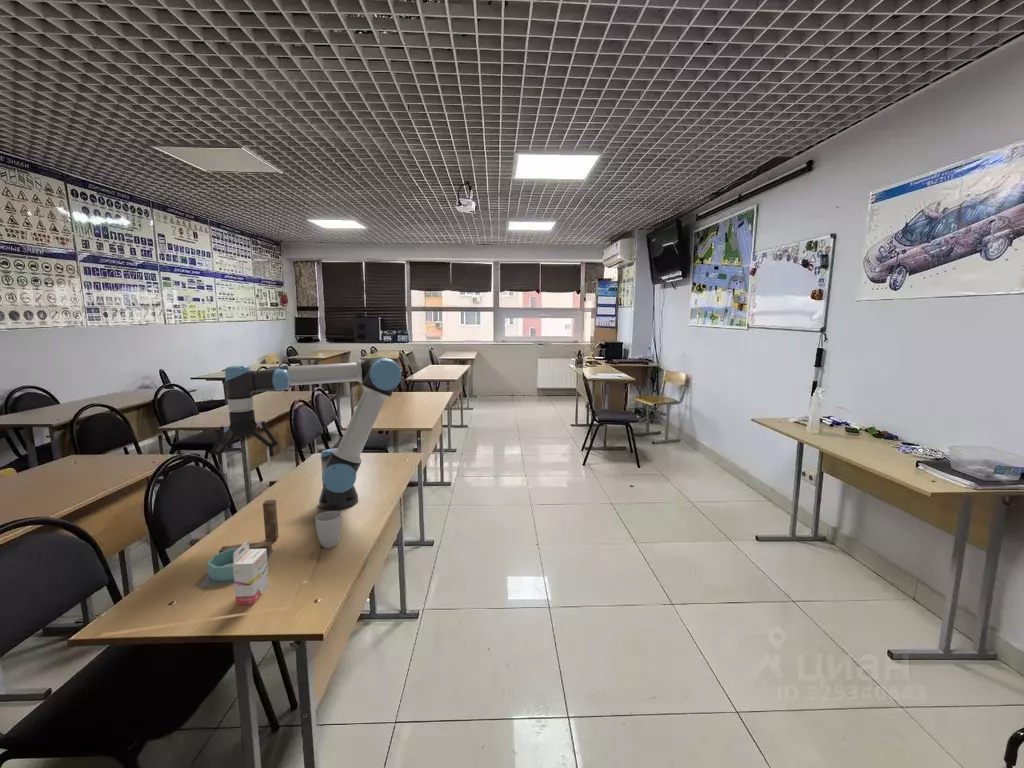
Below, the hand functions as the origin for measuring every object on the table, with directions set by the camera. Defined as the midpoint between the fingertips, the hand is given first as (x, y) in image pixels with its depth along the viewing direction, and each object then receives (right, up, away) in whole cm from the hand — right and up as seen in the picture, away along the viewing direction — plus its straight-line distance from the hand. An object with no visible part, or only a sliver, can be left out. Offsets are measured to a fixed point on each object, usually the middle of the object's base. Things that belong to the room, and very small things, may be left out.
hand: (247, 468), depth 159 cm
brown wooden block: (+12, -24, -6) cm, 27 cm away
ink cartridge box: (+24, -28, -38) cm, 53 cm away
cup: (+33, -24, -9) cm, 41 cm away
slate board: (+12, -26, -24) cm, 37 cm away
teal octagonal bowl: (+11, -25, -26) cm, 38 cm away
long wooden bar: (+10, -24, -17) cm, 31 cm away
